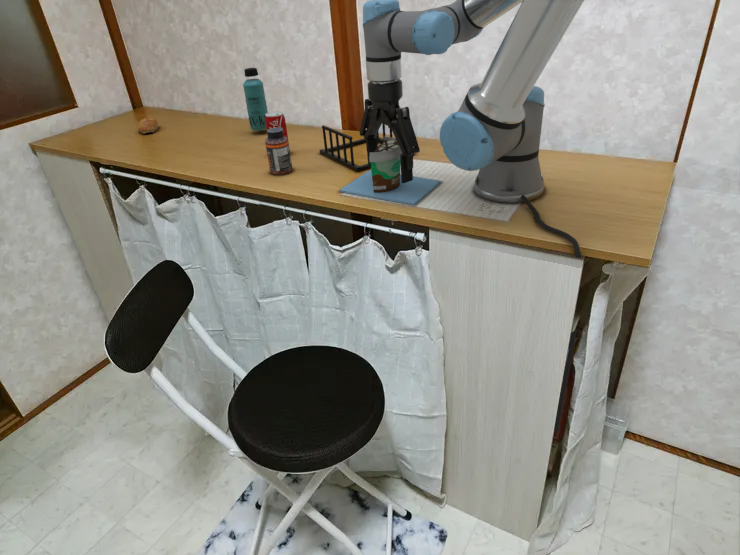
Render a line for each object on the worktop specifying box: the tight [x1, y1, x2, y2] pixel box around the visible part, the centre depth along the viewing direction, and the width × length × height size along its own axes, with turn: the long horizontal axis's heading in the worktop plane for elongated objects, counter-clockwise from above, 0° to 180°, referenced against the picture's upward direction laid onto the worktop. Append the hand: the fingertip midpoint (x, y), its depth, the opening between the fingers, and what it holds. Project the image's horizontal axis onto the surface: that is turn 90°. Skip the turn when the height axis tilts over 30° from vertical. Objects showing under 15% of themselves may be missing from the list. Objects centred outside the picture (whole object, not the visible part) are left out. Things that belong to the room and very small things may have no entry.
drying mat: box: [339, 169, 441, 206], centre depth 127 cm, size 20×14×1 cm
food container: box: [369, 136, 402, 193], centre depth 124 cm, size 12×6×10 cm, turn 162°
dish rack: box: [319, 120, 416, 173], centre depth 146 cm, size 20×19×8 cm
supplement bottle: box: [264, 128, 293, 176], centre depth 138 cm, size 6×6×11 cm
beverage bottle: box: [242, 67, 269, 132], centre depth 168 cm, size 6×7×20 cm
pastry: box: [137, 116, 159, 135], centre depth 184 cm, size 9×7×4 cm
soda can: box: [265, 110, 291, 151], centre depth 150 cm, size 6×6×12 cm
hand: (389, 173), depth 125 cm, fingers open, 13 cm apart
